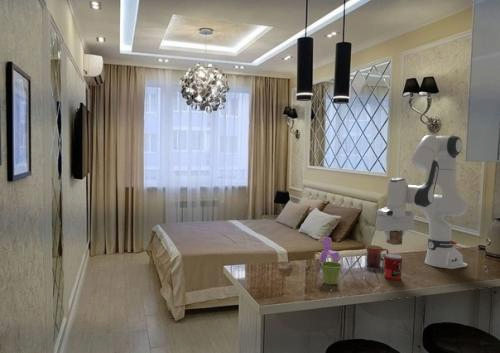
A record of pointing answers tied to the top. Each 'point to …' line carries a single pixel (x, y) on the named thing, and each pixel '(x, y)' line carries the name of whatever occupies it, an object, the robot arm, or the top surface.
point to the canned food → (393, 266)
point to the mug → (374, 255)
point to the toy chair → (328, 251)
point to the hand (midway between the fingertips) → (394, 239)
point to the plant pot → (331, 272)
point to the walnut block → (395, 238)
